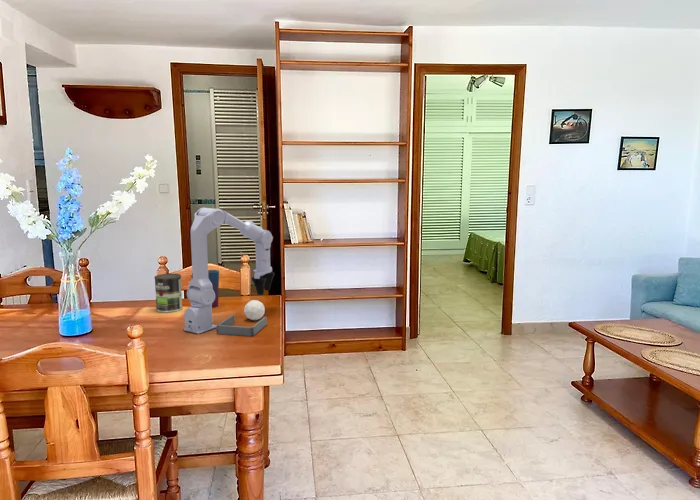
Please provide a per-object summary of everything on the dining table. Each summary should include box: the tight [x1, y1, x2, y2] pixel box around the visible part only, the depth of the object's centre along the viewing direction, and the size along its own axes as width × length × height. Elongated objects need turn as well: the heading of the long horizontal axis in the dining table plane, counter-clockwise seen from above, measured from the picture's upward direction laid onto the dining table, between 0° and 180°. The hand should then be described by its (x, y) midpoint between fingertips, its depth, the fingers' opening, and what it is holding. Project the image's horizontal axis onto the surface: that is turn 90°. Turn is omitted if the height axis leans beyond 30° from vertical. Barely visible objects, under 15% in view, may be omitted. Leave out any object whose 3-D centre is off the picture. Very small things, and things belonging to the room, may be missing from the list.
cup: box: [208, 269, 220, 308], centre depth 213 cm, size 7×7×15 cm
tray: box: [215, 314, 268, 337], centre depth 183 cm, size 14×14×3 cm
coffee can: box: [154, 273, 183, 314], centre depth 207 cm, size 10×10×14 cm
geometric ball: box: [243, 299, 266, 321], centre depth 194 cm, size 8×8×8 cm
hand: (263, 292), depth 203 cm, fingers open, 7 cm apart
